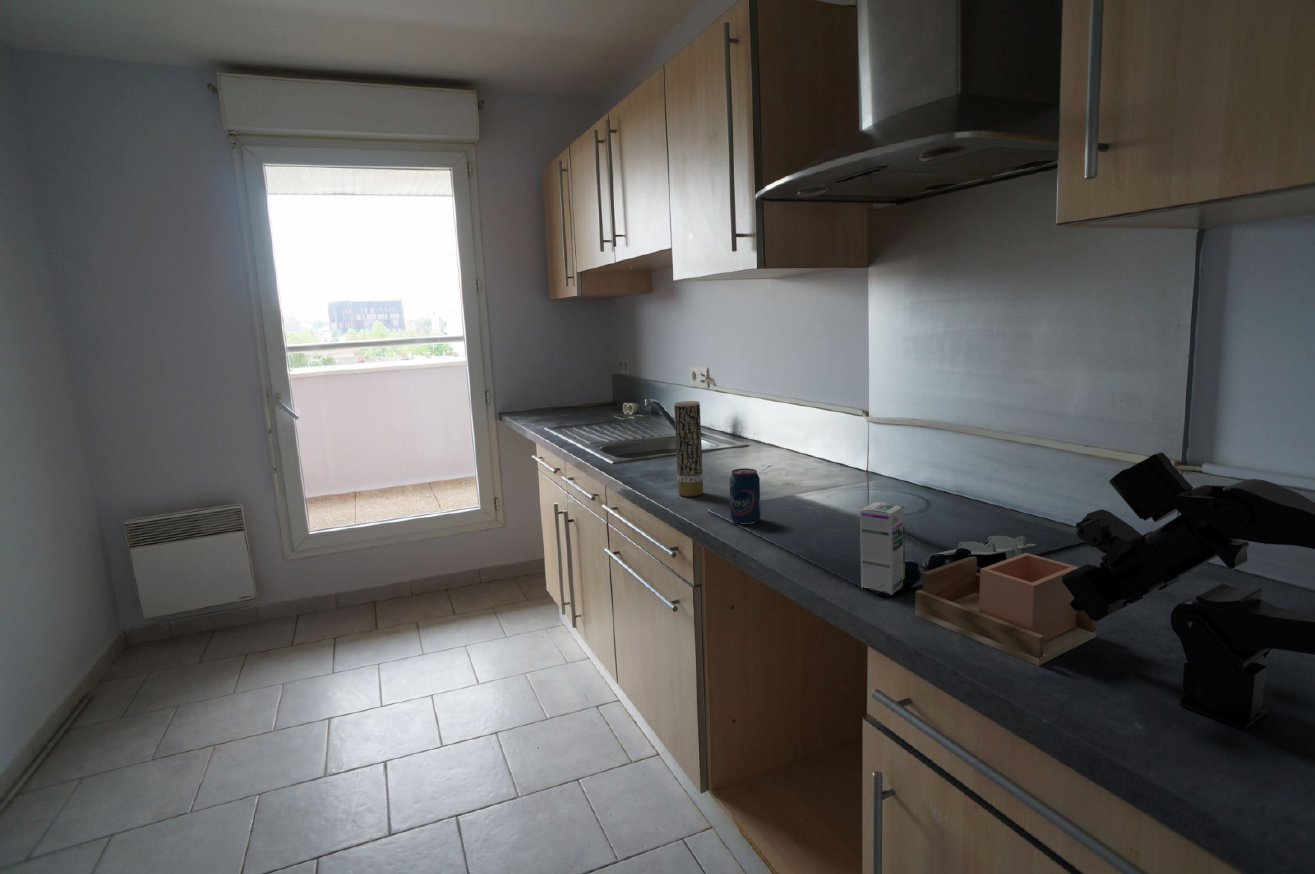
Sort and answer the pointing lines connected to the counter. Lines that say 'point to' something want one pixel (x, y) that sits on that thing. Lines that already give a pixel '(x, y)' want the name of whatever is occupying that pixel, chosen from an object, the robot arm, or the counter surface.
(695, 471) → the paper tube
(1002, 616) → the box
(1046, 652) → the wooden bay
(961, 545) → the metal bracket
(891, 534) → the syrup box
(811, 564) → the counter surface
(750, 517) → the soda can
